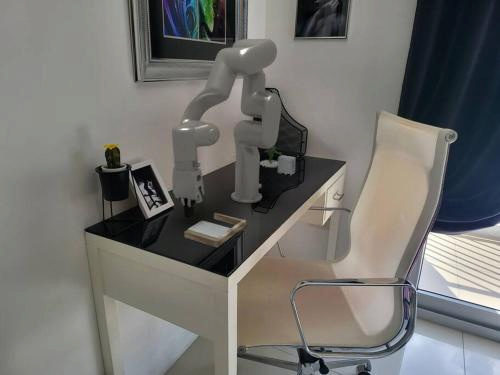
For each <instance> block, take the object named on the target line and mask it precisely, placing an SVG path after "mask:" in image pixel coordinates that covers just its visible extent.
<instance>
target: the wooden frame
mask: <svg viewBox="0 0 500 375" xmlns="http://www.w3.org/2000/svg"><path fill="white" fill-rule="evenodd" d="M213 220H216V221H220V222H223V223H226V224H230V225H234V226H232V227H231V229H230V230H228V231H227V232H225V233H224V234H223V235H221V236H220V237H218V238H217V239H214V238H211V237H208V236H204V235H201V234H198V233H194V232H191V231H188V229H187V230H185V231H184V238H185V239H189V240H192V241H194V242H198V243H202V244H204V245H207V246H211V247H214V248H219V247H220V246H222V245H223V244H225V242H227V241H228V240H229V239H230V238H232V237H233V236H235V235H236V234H237V233H239V232H240V231H241V230H242V229H244V228H245V227H247V220H246V219H243V218H242V219H240V218H238V217H233V216H231V215H226V214H222V213H218V212H214V213H213Z"/></svg>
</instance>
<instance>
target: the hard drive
mask: <svg viewBox="0 0 500 375" xmlns="http://www.w3.org/2000/svg"><path fill="white" fill-rule="evenodd" d="M231 228H232V227H231ZM231 228H230V227H227V226H224V225H221V224H217V223H213V222H209V221H205V220H200V221H198V222H197V223H196V224H194V225H192V226H190V227H189V228H188V229H187V230H188V231H191V232H194V233H198V234H201V235H204V236H208V237H211V238H214V239H217V238H218V237H220V236H221V235H223V234H224V233H225V232H227V231H228V230H230V229H231Z"/></svg>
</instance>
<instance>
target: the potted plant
mask: <svg viewBox="0 0 500 375" xmlns="http://www.w3.org/2000/svg"><path fill="white" fill-rule="evenodd" d="M263 152H264V154H265V153H267V155H268V159H265V160H261V161H260V164H259V166H261V165H262V166H261V167H264V166H265V167H264V168H278V167H277V166H278V160H273V158H274V155H275V154H278V155H279V156H282V155H283V154H284V153H282V151H280V152H279V151H277V150H276V146H275V145H274V146H273V147H272V148H270V149H266V150H264V151H263Z"/></svg>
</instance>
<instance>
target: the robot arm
mask: <svg viewBox="0 0 500 375" xmlns="http://www.w3.org/2000/svg"><path fill="white" fill-rule="evenodd" d="M277 55H278V48H277V45H276V43H275V42H274V41H273V39H269V38H246V39H245V38H244V39H240V40H239V39H238V40H237V41H235V42H233V44H232V47H225V48H222V49H221V50H219V51H218V53H217V54H216V57H215V60H214V62H213V65H212V68H211V69H210V70H211V71H210V72H209V76H208V79H207V81H206V84H205V86H204V88H203V89H202V90H201V91H200V92H199V93H198V94H197V95H196V96H195V97H193V99H191V101H190V102H189V103H188V105H187V106H186V108H185V110H184V111H183V115H182V118H181V121H180V123H179V124H177V125H175V126H173V127H172V129H171V139H172V140H171V141H172V150H173V151H172V153H173V154H172V155H173V165H174V166H173V168H172V176H171V177H172V178H171V179H172V180H171V182H172V183H171V185H172V192H173V194H174V197H175V198H176V199H178V200H179V201H180V202H181V205H182V206H183V212H184V213H183V214H184V217H185V218H189V219H190V218H191V217H193V216H194V214H195V205H196V204H201V203H202V202H203V196H205V185H204V178H203V173H202V169H201V163H200V162H199V160H198V148H199V147H210V146H214V145H215V144H217V142H218V141H219V139H220V136H221V133H220V128H218V126H217V125H215V124H213V123H212V122H205V121H201V119H202V117H203V115H204V114H205V113H206V112H207V111H208V110H209V109H211V108H213V107H216V106H218V105H220V104H222V103H224V102H226V101H228V100H229V98H230V95H231V93H232V90H233V87H234V84H235V82H236V79H237V76H242V87H241V88H242V89H241V97H240V98H241V99H240V111H241V113H242V114H243V115H244V116H245V117H252V118H257V119H258V118H259V119H261V121H257V120H251V119H244V120H240V121H238V122H237V123H236V124H235V125H234V128H233V139H234V145H235V172H234V175H235V181H234V183H235V184H234V185H235V187H234V192H232V193H231V196H230V198H231V199H232V200H233V201H234V202H237V203H241V204H253V203H257V202H260V201H261V200H262V197H263V195H262V193H260V192H259V189H261V188H262V184H261V183H260V182H259V181H260V162H261V161H260V157H261V156H260V152H259V149H266V150H269V149H272V147H273V146H274V147H275V146H276V143H277V140H278V137H279V128H280V122H281V116H282V102H281V98H280V96H279V95H278V94H276V93H273V92H270V91H269V92H268V91H266V82H267V81H266V80H267V76H266V74H265V70H264V69H265V68H267V67H269V66H271V65H272V64H273V63H274V62H275V61H276V59H277ZM258 148H259V149H258Z"/></svg>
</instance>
